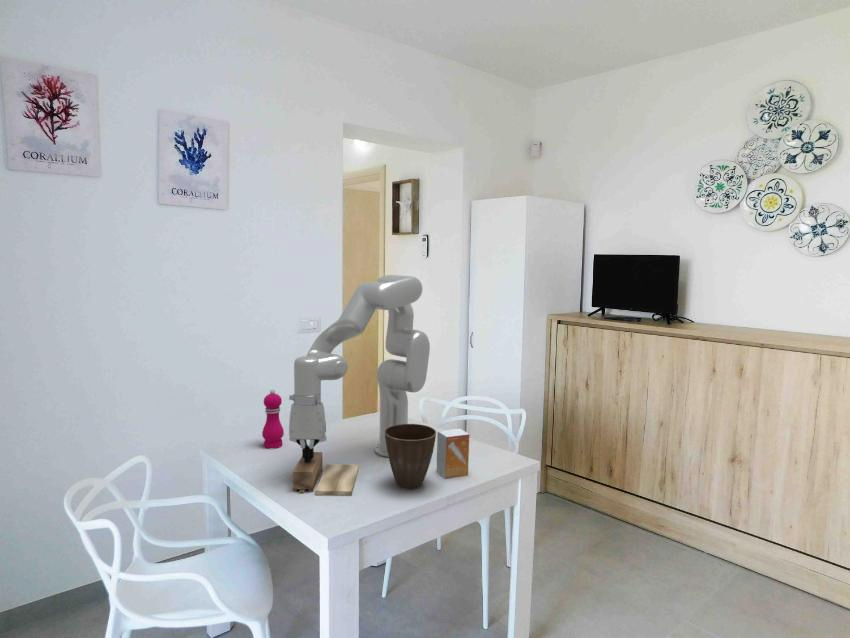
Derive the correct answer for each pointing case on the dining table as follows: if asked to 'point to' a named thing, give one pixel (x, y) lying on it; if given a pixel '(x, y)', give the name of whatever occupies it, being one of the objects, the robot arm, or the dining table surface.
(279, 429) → the pepper mill
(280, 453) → the dining table surface
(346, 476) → the board
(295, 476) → the brown wooden block
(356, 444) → the dining table surface
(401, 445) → the plant pot
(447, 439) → the small box
